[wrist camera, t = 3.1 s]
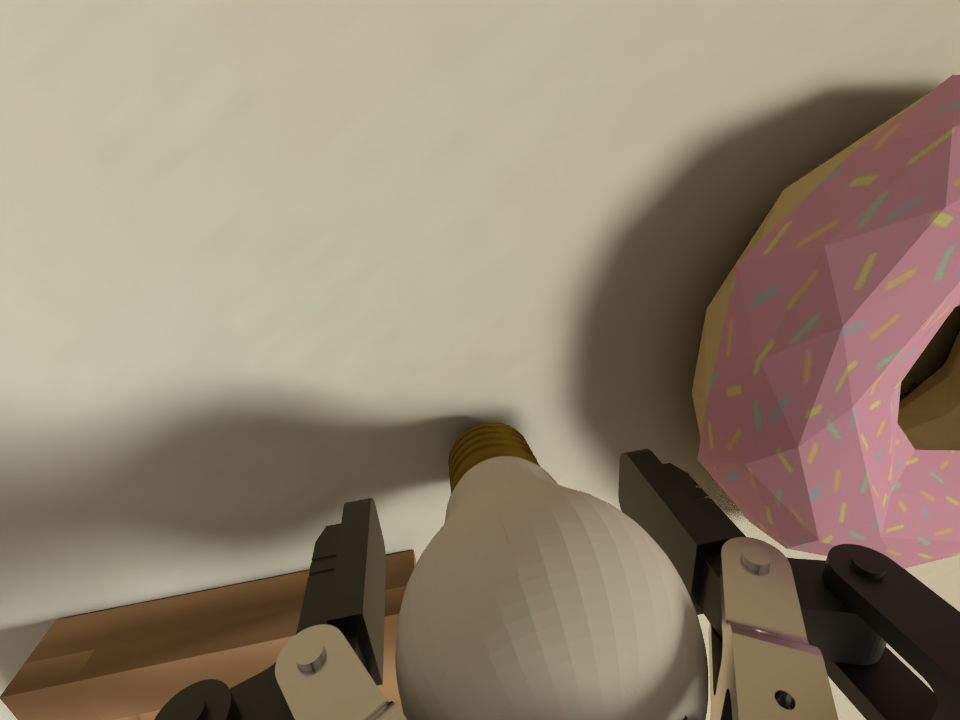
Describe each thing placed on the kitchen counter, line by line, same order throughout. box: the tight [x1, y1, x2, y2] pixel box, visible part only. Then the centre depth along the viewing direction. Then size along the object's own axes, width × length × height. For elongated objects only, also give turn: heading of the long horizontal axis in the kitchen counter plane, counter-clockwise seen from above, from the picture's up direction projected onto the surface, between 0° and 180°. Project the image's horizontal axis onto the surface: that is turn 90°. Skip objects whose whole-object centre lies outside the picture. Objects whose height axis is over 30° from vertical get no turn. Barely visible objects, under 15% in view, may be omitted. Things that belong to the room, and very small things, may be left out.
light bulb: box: [395, 423, 708, 720], centre depth 11 cm, size 6×6×10 cm
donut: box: [692, 75, 960, 569], centre depth 14 cm, size 16×15×5 cm
